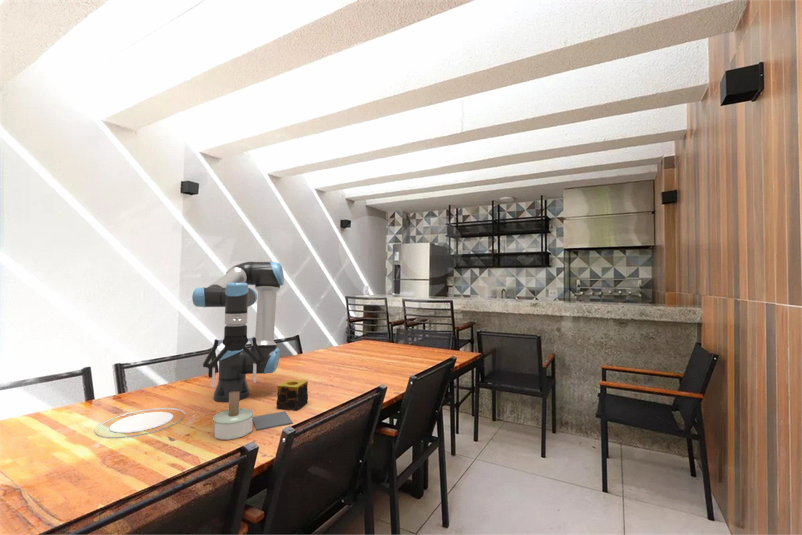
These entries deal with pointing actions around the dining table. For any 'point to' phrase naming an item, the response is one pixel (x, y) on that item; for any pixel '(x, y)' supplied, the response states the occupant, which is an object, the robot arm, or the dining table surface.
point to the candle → (292, 395)
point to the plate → (141, 422)
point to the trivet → (271, 420)
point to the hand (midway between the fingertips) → (234, 384)
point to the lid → (233, 411)
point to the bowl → (232, 430)
